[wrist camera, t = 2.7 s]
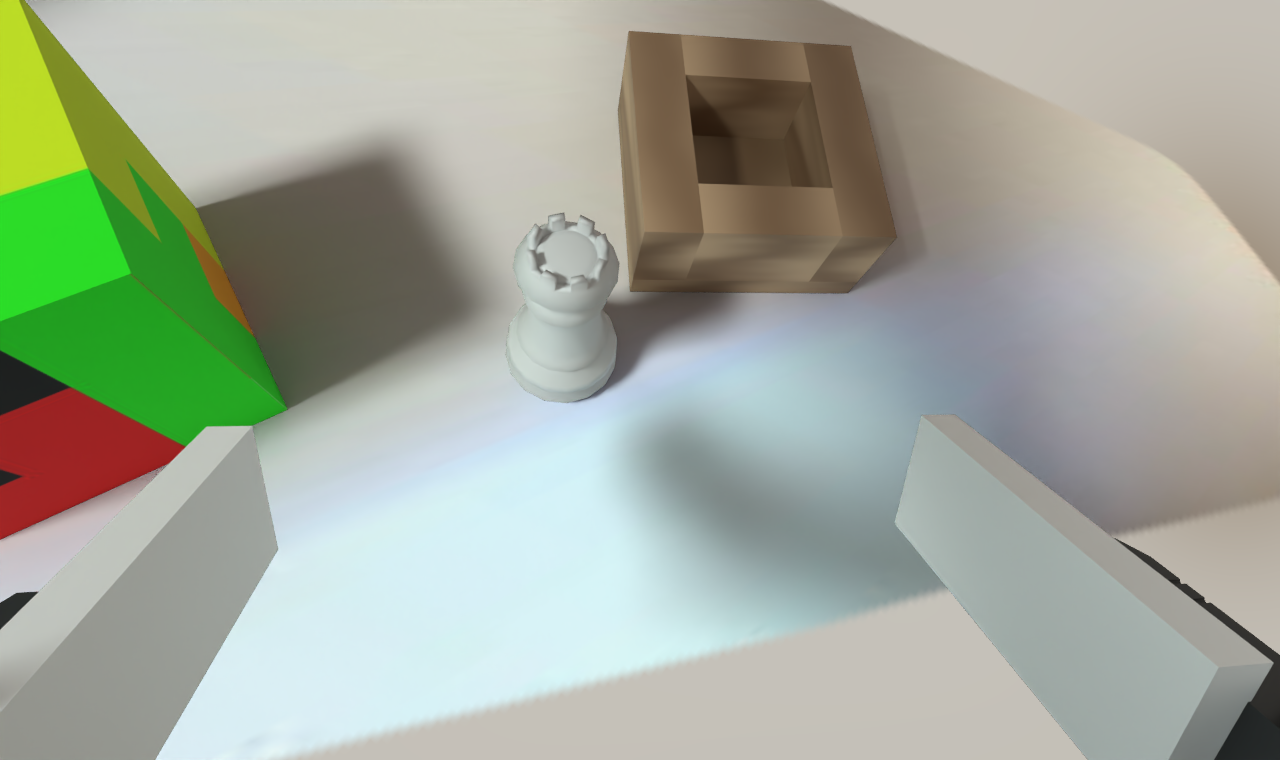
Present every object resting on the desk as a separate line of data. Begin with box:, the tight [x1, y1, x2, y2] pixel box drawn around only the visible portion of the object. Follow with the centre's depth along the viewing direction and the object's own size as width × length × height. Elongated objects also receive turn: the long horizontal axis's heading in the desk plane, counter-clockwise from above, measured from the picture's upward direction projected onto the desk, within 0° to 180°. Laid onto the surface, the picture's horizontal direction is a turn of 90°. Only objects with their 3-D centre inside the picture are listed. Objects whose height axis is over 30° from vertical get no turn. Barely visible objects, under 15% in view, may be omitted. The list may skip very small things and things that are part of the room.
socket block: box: [618, 31, 897, 293], centre depth 28 cm, size 10×10×4 cm
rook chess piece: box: [506, 213, 619, 403], centre depth 23 cm, size 4×4×8 cm
